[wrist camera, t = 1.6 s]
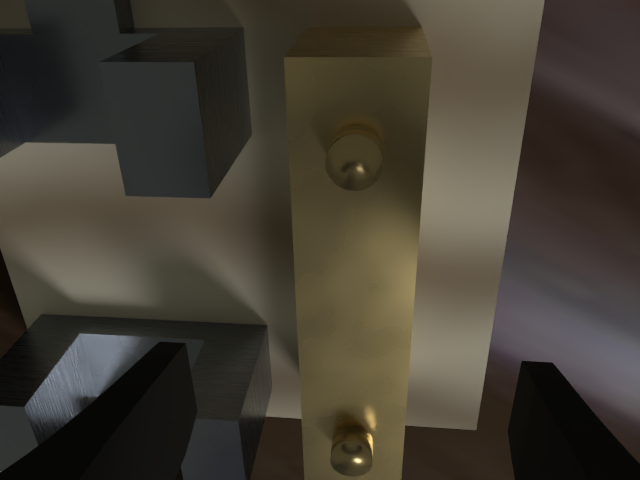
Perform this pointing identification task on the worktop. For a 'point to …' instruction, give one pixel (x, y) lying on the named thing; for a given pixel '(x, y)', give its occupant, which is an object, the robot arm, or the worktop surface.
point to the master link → (356, 238)
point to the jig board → (275, 199)
